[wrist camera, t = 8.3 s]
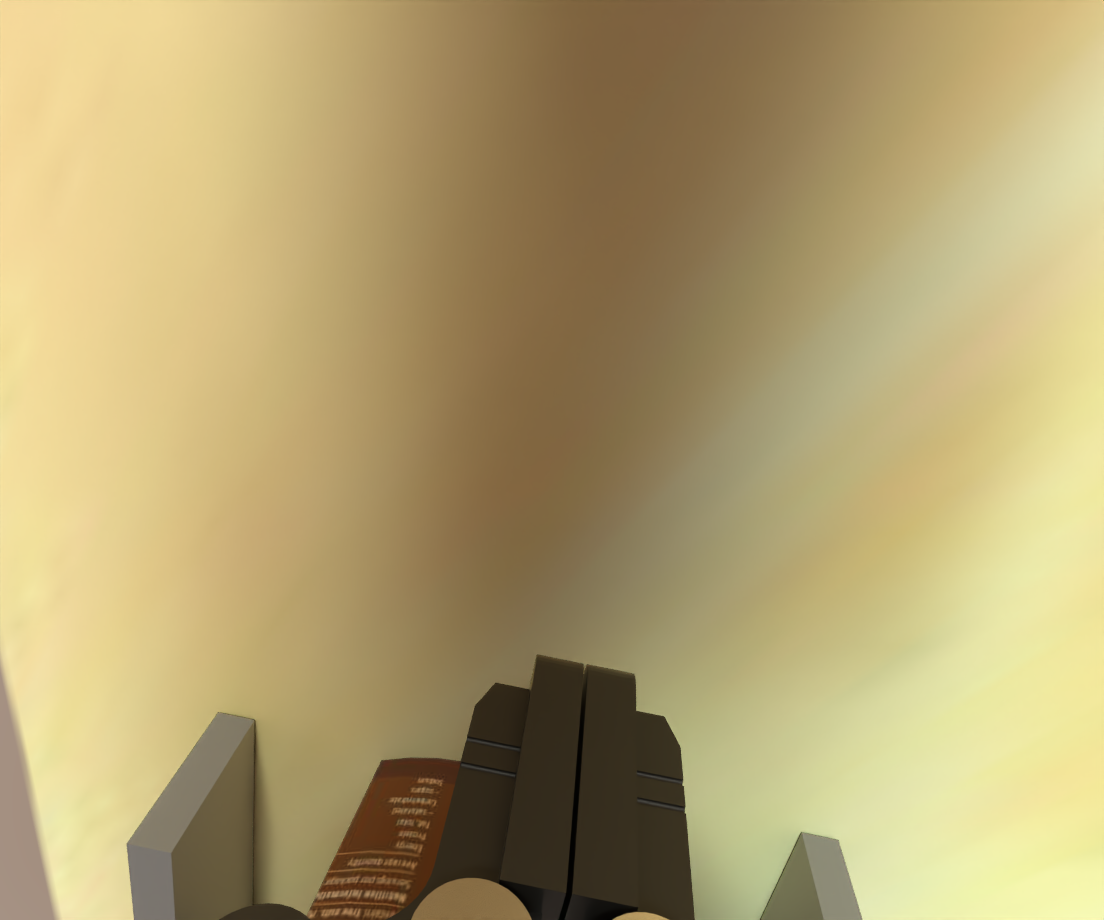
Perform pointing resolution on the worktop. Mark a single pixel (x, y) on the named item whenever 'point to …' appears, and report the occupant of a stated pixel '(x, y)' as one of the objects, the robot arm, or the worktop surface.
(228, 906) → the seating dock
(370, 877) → the food container
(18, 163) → the worktop surface
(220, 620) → the worktop surface
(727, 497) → the worktop surface
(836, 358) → the worktop surface
